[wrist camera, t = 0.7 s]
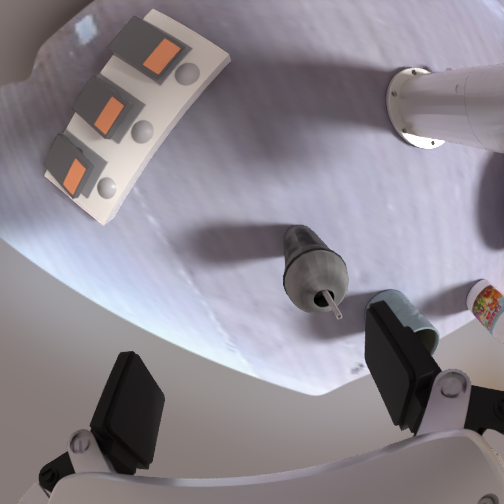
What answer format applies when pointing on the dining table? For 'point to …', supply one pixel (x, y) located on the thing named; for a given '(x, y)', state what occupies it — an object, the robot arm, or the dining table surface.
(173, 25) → the rocker switch panel
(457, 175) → the dining table surface
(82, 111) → the middle rocker
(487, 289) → the milk bottle
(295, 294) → the beverage cup
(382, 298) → the teal plant pot
